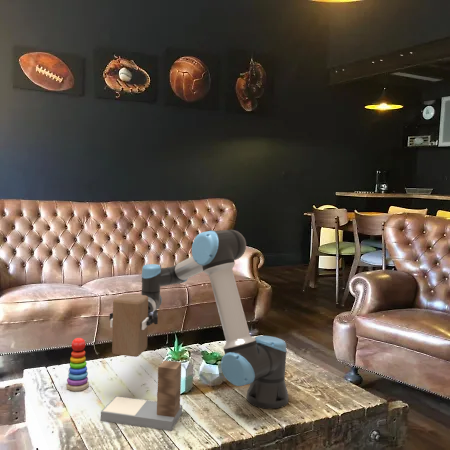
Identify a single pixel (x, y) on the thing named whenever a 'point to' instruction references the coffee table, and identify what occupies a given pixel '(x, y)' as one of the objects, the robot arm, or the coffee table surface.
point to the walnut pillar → (169, 388)
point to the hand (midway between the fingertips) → (127, 325)
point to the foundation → (137, 413)
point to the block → (129, 324)
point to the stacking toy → (78, 367)
